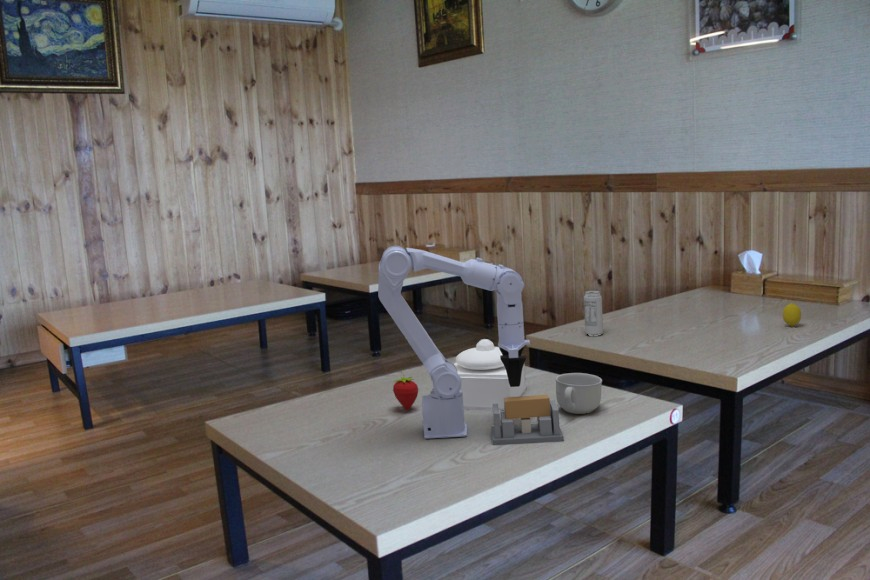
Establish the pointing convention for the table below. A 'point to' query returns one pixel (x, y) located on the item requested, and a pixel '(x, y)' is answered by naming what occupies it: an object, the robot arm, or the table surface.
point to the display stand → (526, 428)
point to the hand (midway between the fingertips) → (514, 381)
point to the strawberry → (405, 391)
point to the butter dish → (485, 377)
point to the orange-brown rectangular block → (527, 406)
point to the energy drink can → (593, 313)
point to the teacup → (578, 392)
